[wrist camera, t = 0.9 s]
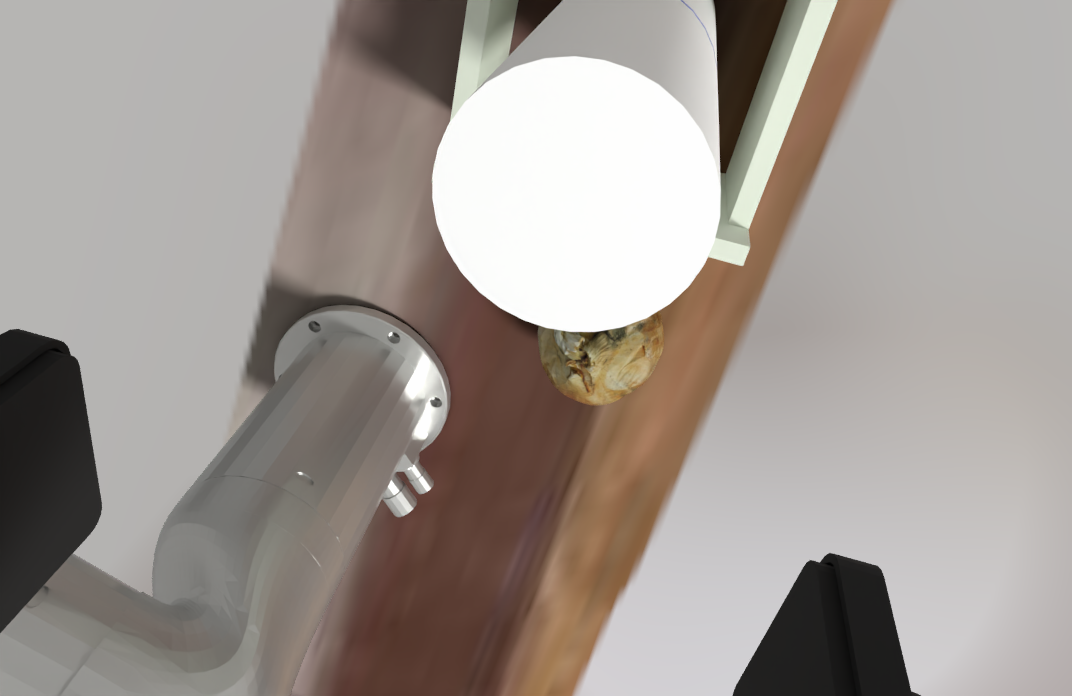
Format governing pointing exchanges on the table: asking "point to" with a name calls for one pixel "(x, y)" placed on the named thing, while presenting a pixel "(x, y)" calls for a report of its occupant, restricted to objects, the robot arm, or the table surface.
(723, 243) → the frame
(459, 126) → the cylindrical container
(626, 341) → the onion
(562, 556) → the table surface
